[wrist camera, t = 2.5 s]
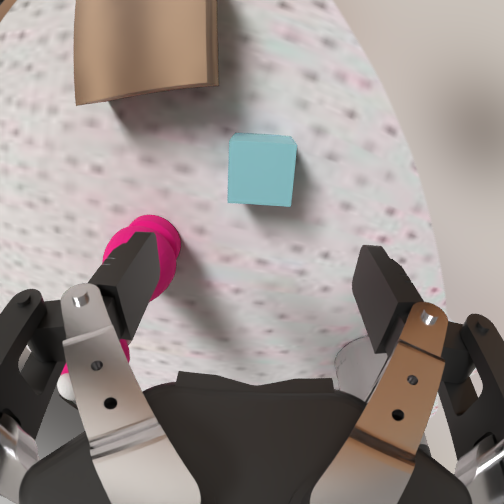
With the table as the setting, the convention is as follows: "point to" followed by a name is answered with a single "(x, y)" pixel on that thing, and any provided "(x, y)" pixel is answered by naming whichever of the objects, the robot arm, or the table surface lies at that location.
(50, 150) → the table surface
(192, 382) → the robot arm
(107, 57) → the walnut box
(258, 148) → the teal cube
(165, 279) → the pepper mill
